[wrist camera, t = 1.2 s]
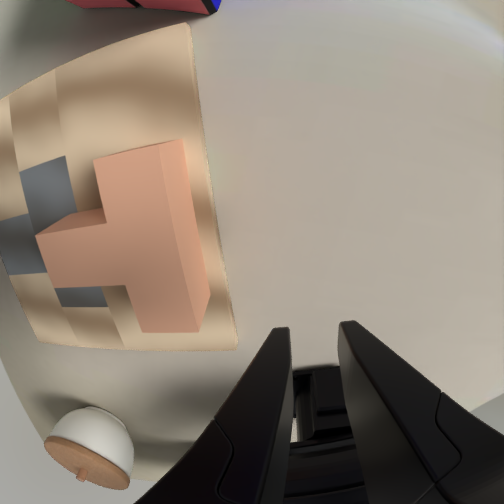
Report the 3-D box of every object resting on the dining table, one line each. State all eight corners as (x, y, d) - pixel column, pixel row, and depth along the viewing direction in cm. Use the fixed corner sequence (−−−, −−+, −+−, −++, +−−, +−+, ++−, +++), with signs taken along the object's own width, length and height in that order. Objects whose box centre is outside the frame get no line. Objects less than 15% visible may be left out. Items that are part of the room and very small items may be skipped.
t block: (210, 294, 20) (198, 332, 16) (97, 299, 21) (72, 330, 17) (182, 138, 16) (158, 144, 12) (59, 168, 17) (21, 182, 13)
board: (238, 339, 23) (236, 350, 22) (45, 335, 25) (39, 342, 24) (190, 27, 14) (185, 22, 13) (-20, 118, 16) (-29, 120, 15)
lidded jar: (134, 451, 33) (116, 505, 25) (65, 416, 32) (40, 466, 23) (154, 424, 29) (133, 492, 21) (71, 380, 28) (35, 442, 19)
